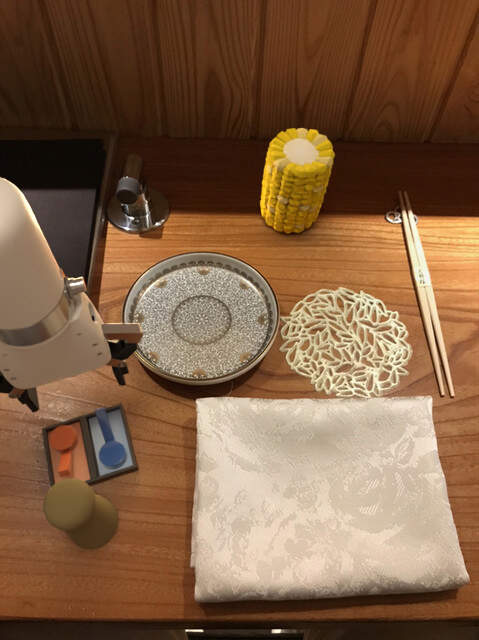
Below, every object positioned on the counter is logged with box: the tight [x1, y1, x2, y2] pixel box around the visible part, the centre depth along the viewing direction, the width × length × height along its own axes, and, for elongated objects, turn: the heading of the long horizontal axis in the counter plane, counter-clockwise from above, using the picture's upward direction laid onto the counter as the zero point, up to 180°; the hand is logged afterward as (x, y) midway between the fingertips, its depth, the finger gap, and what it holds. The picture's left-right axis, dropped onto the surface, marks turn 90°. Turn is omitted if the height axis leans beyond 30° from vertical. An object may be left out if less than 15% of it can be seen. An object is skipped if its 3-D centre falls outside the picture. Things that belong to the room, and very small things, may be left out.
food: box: [259, 127, 336, 235], centre depth 83 cm, size 15×12×10 cm
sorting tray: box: [41, 402, 139, 488], centre depth 70 cm, size 10×9×1 cm
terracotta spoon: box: [50, 425, 78, 477], centre depth 68 cm, size 7×3×4 cm, turn 18°
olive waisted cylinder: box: [42, 478, 120, 550], centre depth 61 cm, size 6×6×11 cm
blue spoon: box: [94, 406, 127, 469], centre depth 69 cm, size 7×3×4 cm, turn 18°
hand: (78, 387), depth 63 cm, fingers open, 9 cm apart
